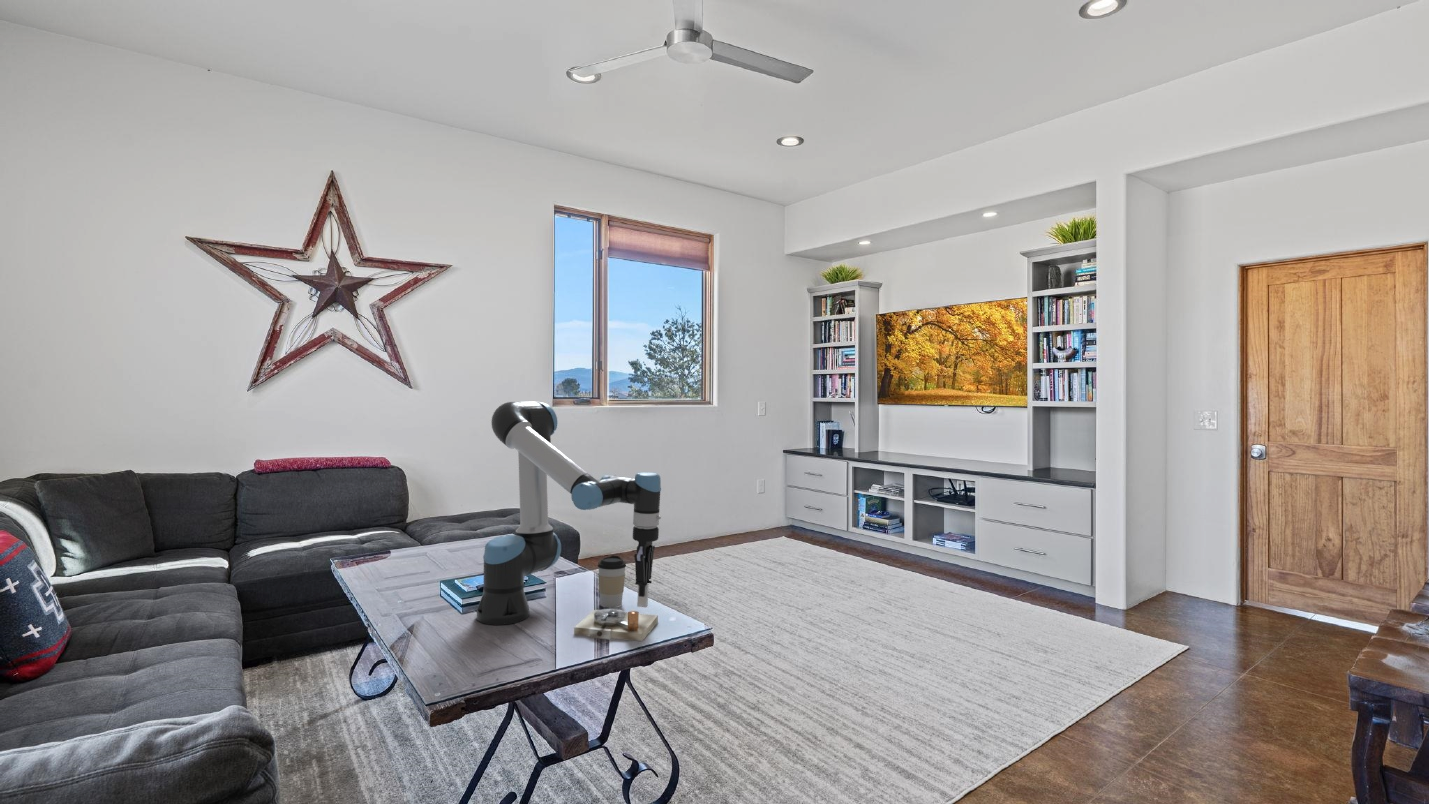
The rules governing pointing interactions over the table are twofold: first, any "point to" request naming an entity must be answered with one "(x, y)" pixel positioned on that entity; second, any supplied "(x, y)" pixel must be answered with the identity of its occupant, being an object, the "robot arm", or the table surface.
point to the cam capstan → (617, 618)
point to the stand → (616, 628)
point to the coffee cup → (611, 581)
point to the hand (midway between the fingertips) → (642, 606)
